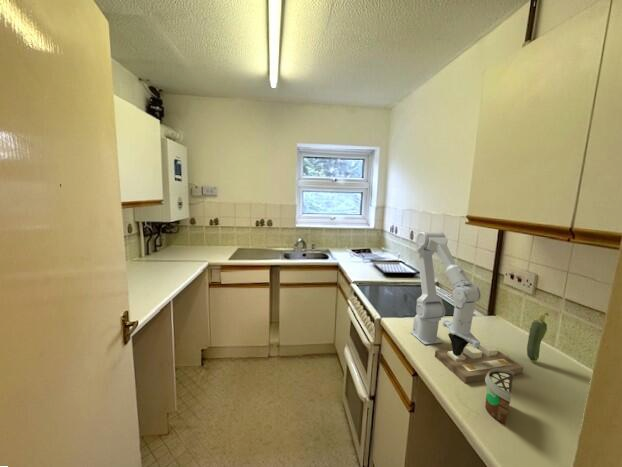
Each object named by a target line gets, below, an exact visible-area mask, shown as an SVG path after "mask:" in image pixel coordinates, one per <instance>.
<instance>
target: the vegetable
mask: <svg viewBox="0 0 622 467" xmlns="http://www.w3.org/2000/svg"><path fill="white" fill-rule="evenodd" d="M546 316H547V317H548V316H549V312H548V311H542V312H541V313H540V314H539V315H538V316H537V318H536V319H535V320H533V322H532V323H531V325H530V328H529V333H528V338H527V344H526V345H527V346H526V356H527V357H528V359H529V360H530V362H531V363H533V364H534V363H536V362H537V361H538V360H539V357H540V351H541V344H542V340H543V339H544V337H545V335H546V333H547V331H548V326H547V323H546V321H545V319H546Z"/></svg>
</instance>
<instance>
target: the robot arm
mask: <svg viewBox="0 0 622 467" xmlns="http://www.w3.org/2000/svg"><path fill="white" fill-rule="evenodd" d="M448 242H449V241H448V238H447V236H446V234H445V233H444V232H443V231H419V232H418V234H417V235H416V237H415V244H416V245H415V246H416V252H417V260H418V267H419V269H418V270H419V278H420V286H421V295H420V296H419V297H418V298H417V299H416V306H415V307H416V308H415V312H416V315H415V316H414V318H413V321H412V322H413V323H412V331H411V330H410V334H412V335H413V336H414V337H415V338H416V339H417V340H418V341H420V342H421V343H422V344H423V345H433V344H441V343H442V341H441V340H440V339H439V338H438V337H437V336H438V331H439V325H440V324H439V323H440V321H442V318H444V316H445V315H446V308H445V307H446V306H445V305H444V304H443V299H442V297H440V296H439V295H438V294H437V288H436V280H435V270H434V263H433V255H434V254H435V253H436V255H437V256H438V258H439V259H440V260H441V262H442V264H443V265H444V267H445V268H446V269H445V275H446V277H447V279H448V281H449V283H450V285H451V286H452V288H453V290H452V296H453V299H454V300H453V304H454V308H453V316H452V322H451V321H450V320H443V321H442V326H443V327H445V328H447V329H449V333H448V338H449V341H450V343H451V349H452V350H453V354H454V355H455V356H459V355H461V353H462V351H463V349H464V348H465V347H466V346H468V344H470V345H471V346H473V347H474V348H477V347H480V345H481V341H479V339H477V338H476V337H475V336H474V334H473V333H472V332H471V329H472V322H473V317H474V311H475V305H476V302H478V301H480V300H481V290H480V288H479V286H477V285H476V284H474V283H473V282H471V280H469V278H468V276H467V275H466V273H465V269H464V268H463V267H462V266H461V265H457V263H456V261H455V260H454V257H453V256H452V253H451V251H450V249H449V246H448Z"/></svg>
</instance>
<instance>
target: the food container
mask: <svg viewBox="0 0 622 467" xmlns="http://www.w3.org/2000/svg"><path fill="white" fill-rule="evenodd" d="M514 376H515V375H514V372H512V371H509V370H505V369H492V370H490V371H489V372H488V374H487V376H486V377H485V380H484V383H485V385H486V394H485V395H486V396H485V406H484V407H485V409H486V411H487V412H486V413H488V414H489V416H490V417H491V418H493V419H494V421H497V423H499V424H501V425H502V426H506V424H507V418H508V413H509V408H510V404H511V399H512V388H513V387H512V386H513V380H514Z"/></svg>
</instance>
